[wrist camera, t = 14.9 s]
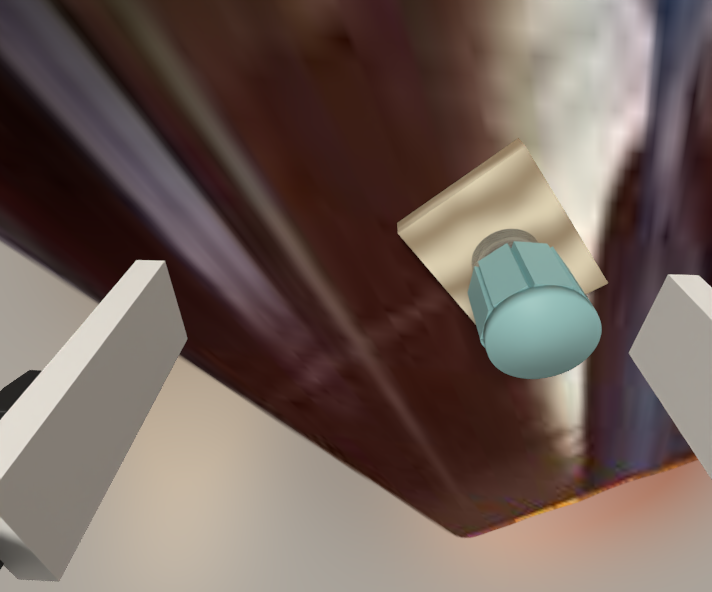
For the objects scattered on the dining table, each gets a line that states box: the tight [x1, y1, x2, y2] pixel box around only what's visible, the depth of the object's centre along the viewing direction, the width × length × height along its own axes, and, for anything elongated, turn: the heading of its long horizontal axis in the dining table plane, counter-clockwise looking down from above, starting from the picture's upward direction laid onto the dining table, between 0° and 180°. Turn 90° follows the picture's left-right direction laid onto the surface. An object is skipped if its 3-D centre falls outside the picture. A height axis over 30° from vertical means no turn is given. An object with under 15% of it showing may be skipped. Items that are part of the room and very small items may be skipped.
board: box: [397, 138, 608, 324], centre depth 40 cm, size 16×12×2 cm
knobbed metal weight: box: [471, 229, 538, 269], centre depth 37 cm, size 6×6×6 cm
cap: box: [468, 241, 601, 379], centre depth 33 cm, size 8×8×7 cm
